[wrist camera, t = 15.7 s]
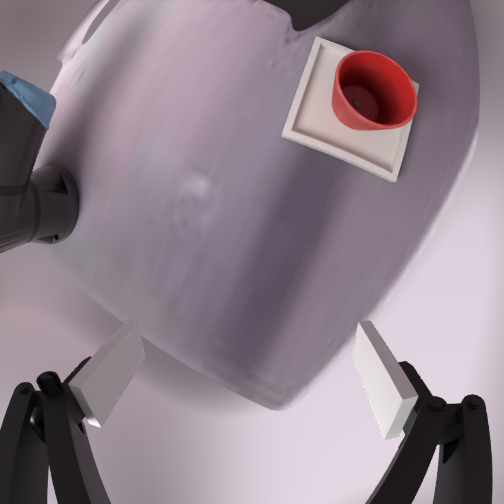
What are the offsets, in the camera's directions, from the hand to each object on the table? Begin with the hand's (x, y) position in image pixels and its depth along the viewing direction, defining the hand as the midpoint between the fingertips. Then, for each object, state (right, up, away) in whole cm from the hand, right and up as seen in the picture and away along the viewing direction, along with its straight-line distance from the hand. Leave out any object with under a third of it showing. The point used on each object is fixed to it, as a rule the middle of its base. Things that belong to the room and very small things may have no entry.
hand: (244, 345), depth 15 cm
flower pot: (+16, +27, +19) cm, 37 cm away
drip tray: (+16, +27, +20) cm, 37 cm away
